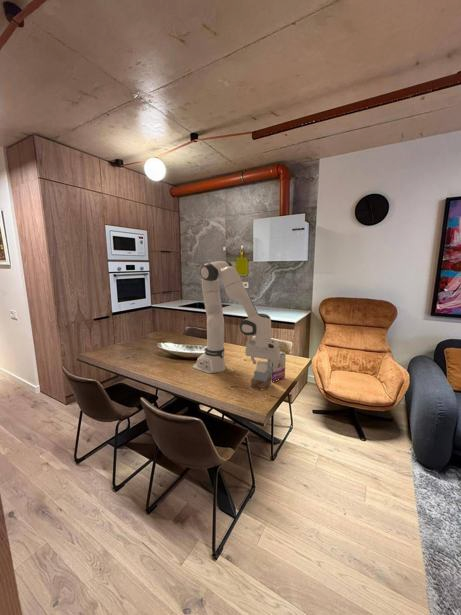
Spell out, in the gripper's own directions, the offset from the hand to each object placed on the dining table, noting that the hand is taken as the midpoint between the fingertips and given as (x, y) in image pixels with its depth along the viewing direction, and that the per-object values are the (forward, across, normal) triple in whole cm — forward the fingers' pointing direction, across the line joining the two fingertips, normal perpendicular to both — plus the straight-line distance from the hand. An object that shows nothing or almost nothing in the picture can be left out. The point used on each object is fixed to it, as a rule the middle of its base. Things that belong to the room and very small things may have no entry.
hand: (262, 365), depth 148 cm
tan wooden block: (+13, 0, -1) cm, 13 cm away
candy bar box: (+12, +5, +12) cm, 18 cm away
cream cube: (+3, 0, 0) cm, 3 cm away
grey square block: (+8, 0, -1) cm, 8 cm away
